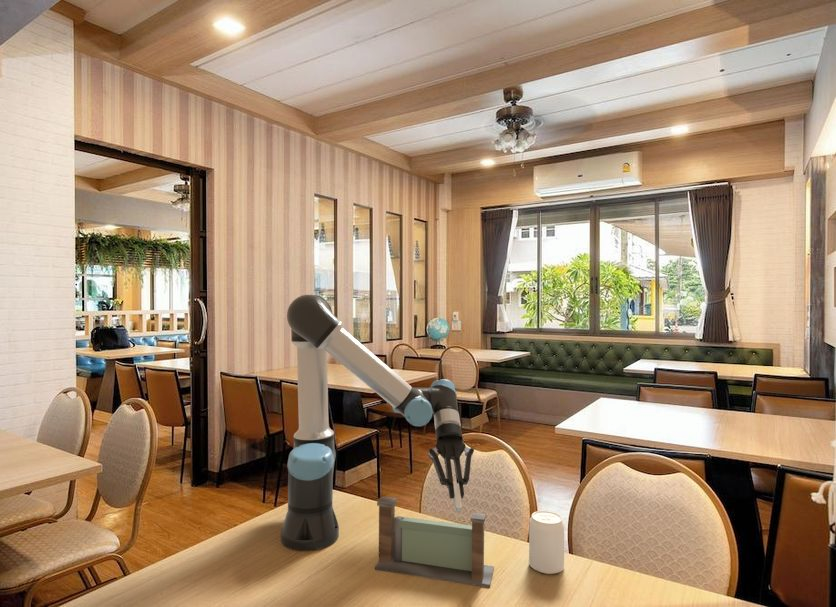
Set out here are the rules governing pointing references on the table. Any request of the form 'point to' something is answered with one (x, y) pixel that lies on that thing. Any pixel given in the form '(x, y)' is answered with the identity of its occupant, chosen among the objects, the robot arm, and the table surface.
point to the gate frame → (477, 576)
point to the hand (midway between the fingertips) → (458, 510)
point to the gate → (433, 543)
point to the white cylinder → (546, 542)
